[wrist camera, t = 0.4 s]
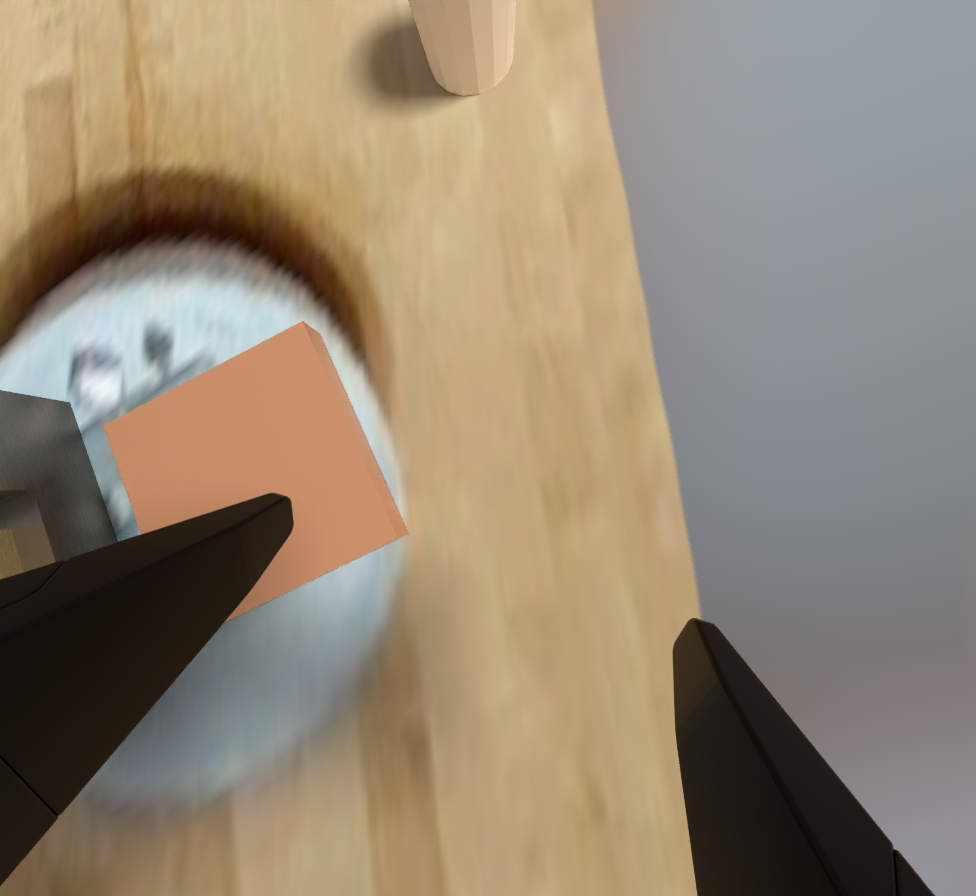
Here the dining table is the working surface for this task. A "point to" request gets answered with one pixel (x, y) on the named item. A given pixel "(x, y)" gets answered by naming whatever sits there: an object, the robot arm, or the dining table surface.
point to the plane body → (47, 483)
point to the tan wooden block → (9, 555)
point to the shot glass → (466, 41)
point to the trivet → (262, 457)
